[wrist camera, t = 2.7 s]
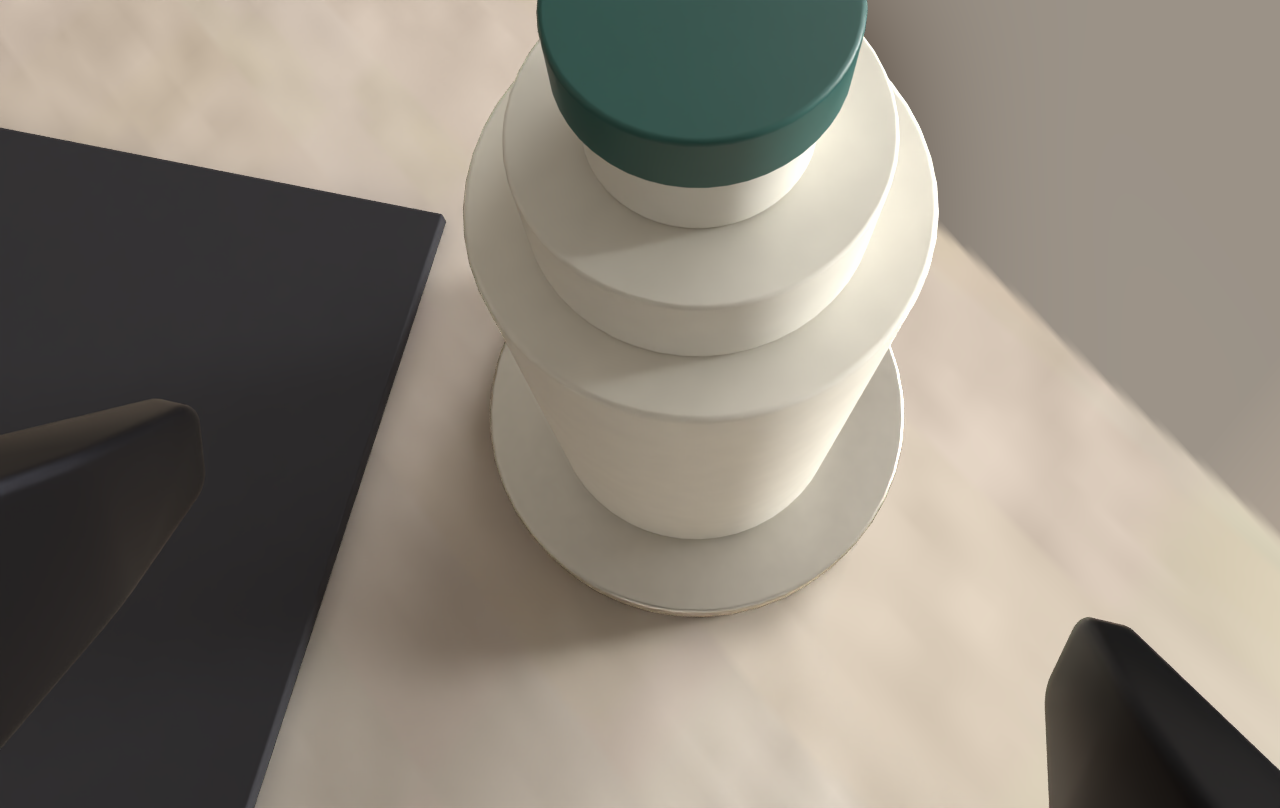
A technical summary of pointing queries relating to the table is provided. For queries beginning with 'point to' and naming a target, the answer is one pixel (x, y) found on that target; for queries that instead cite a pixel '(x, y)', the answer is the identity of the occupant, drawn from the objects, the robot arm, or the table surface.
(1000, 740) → the table surface
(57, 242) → the felt mat
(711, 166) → the bottle
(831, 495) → the off-white round coaster
